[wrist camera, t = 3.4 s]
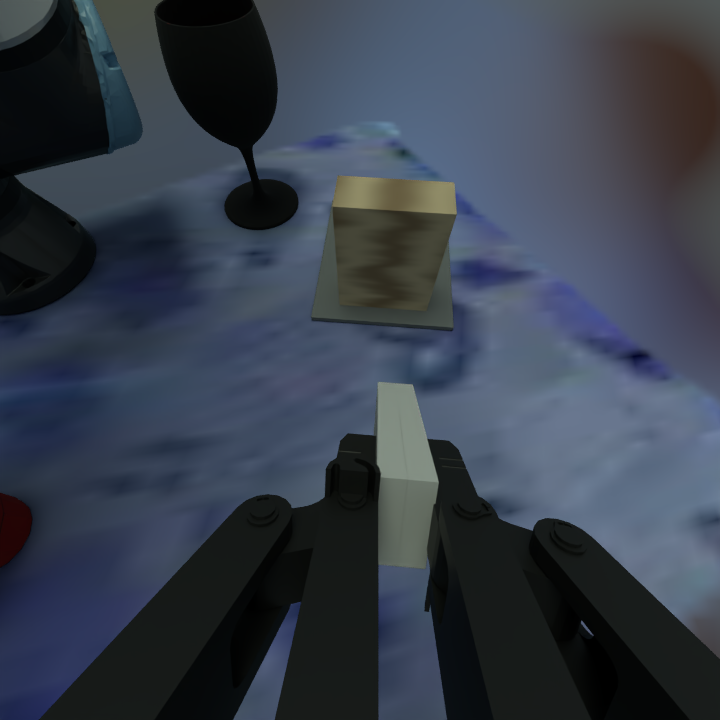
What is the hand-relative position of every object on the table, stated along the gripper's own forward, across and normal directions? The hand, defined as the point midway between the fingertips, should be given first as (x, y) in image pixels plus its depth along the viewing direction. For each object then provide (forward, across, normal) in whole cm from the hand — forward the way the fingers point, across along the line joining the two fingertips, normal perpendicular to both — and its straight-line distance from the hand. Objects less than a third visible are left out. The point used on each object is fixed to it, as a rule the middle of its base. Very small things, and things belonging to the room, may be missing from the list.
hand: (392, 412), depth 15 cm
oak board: (+26, 0, +2) cm, 27 cm away
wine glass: (+37, -18, +13) cm, 44 cm away
